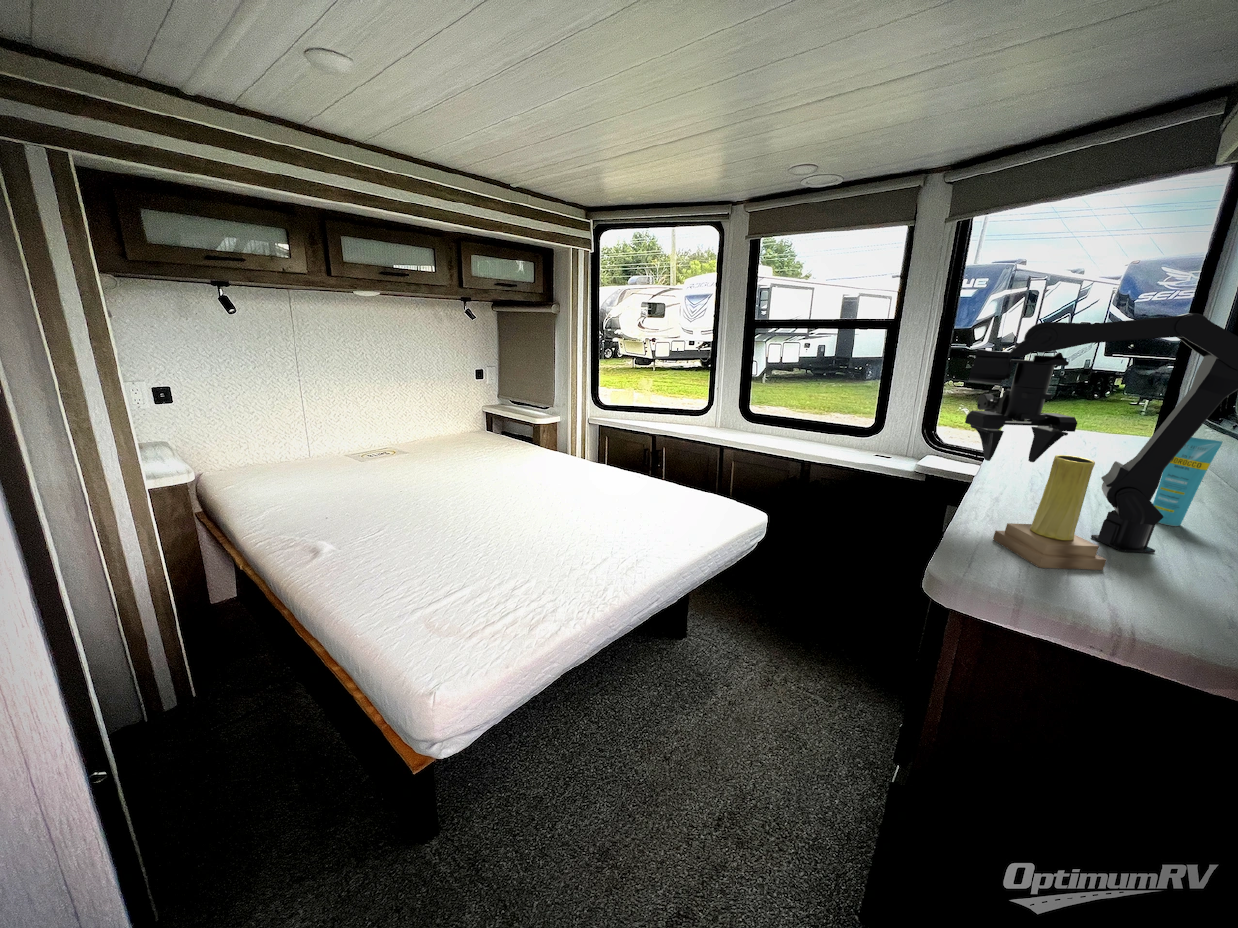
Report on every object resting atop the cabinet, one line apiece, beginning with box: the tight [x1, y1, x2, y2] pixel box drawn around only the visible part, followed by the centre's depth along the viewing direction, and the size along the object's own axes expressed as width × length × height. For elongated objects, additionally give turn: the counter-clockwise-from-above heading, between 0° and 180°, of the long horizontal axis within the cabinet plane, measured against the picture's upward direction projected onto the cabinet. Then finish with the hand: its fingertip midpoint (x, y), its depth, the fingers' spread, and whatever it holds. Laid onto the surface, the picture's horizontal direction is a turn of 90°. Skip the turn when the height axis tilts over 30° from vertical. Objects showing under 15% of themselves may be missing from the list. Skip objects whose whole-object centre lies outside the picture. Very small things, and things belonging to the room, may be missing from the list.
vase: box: [1030, 454, 1096, 541], centre depth 85 cm, size 6×6×14 cm
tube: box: [1152, 436, 1223, 527], centre depth 102 cm, size 7×5×19 cm, turn 23°
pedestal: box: [992, 522, 1107, 571], centre depth 88 cm, size 11×11×4 cm
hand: (1009, 461), depth 101 cm, fingers open, 9 cm apart
